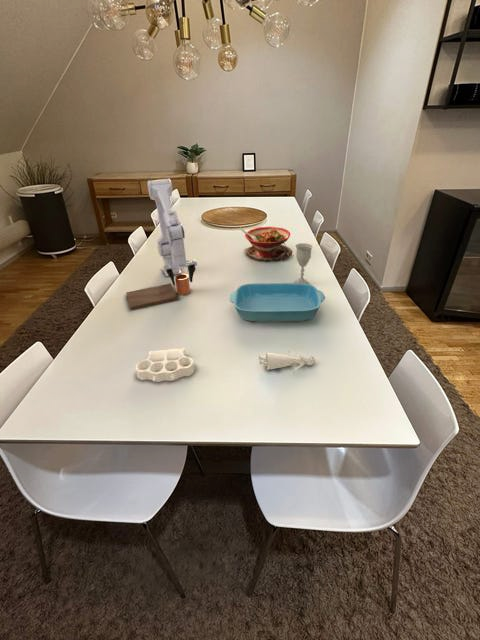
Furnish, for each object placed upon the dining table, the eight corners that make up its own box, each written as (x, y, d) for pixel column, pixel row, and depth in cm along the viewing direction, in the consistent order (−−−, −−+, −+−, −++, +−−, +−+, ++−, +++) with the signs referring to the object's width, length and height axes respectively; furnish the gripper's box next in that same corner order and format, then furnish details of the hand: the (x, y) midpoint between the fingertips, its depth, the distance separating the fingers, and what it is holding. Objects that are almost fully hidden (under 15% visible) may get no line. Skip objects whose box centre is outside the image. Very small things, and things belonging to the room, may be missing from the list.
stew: (233, 260, 182) (231, 230, 174) (249, 244, 201) (248, 217, 192) (284, 267, 173) (285, 236, 164) (296, 249, 191) (297, 221, 183)
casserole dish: (227, 325, 130) (226, 309, 126) (232, 297, 149) (232, 282, 145) (326, 326, 128) (328, 310, 124) (319, 297, 146) (320, 282, 142)
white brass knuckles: (195, 352, 117) (194, 382, 105) (141, 356, 116) (134, 387, 104) (194, 344, 115) (192, 374, 103) (139, 348, 114) (132, 379, 102)
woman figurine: (257, 343, 113) (312, 343, 114) (256, 354, 115) (310, 354, 116) (261, 367, 103) (320, 367, 104) (260, 378, 105) (318, 378, 106)
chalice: (311, 282, 158) (314, 244, 148) (307, 288, 153) (310, 250, 143) (295, 279, 161) (298, 242, 151) (291, 285, 156) (293, 247, 146)
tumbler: (176, 290, 156) (173, 275, 152) (188, 287, 158) (186, 272, 153) (179, 296, 151) (176, 280, 147) (191, 293, 153) (189, 278, 149)
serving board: (126, 295, 154) (126, 292, 153) (171, 286, 160) (170, 283, 159) (130, 310, 143) (130, 306, 142) (178, 299, 149) (177, 296, 148)
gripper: (163, 260, 139) (168, 290, 147) (197, 254, 144) (200, 283, 151) (159, 254, 145) (164, 283, 152) (193, 248, 149) (196, 277, 157)
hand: (182, 283), depth 152 cm, fingers open, 7 cm apart
